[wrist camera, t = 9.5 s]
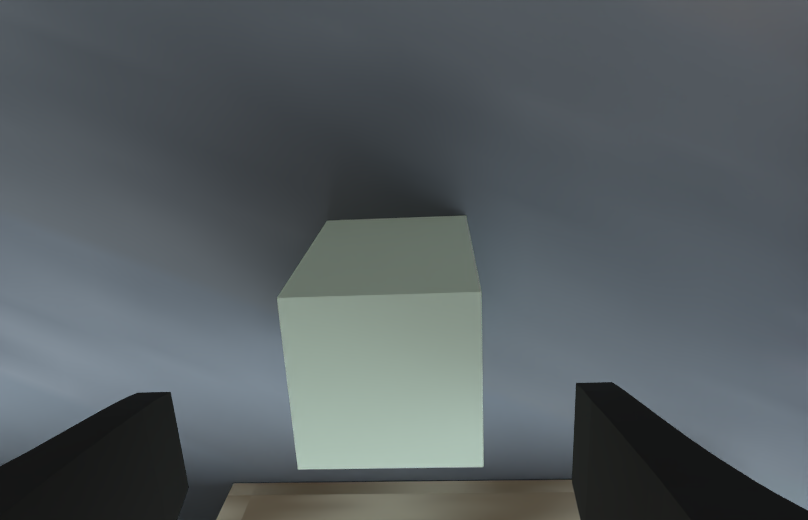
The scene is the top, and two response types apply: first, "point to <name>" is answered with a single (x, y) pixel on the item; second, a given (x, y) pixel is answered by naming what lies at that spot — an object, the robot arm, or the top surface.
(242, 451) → the top surface
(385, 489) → the storage box
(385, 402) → the sage block
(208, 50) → the top surface
